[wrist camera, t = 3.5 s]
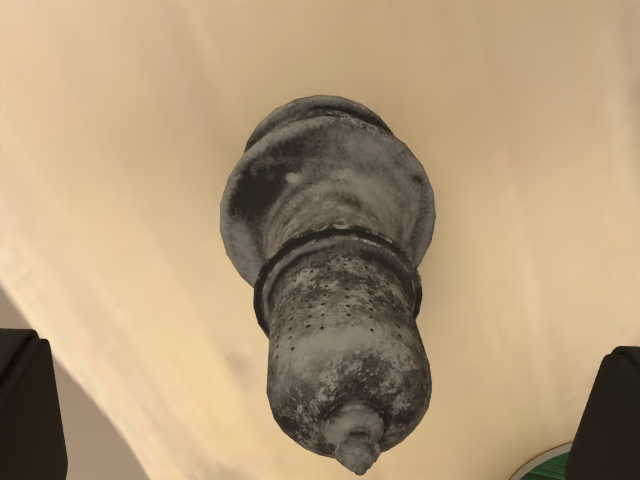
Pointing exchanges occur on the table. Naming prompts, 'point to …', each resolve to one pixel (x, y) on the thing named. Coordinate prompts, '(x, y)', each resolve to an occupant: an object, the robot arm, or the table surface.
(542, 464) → the canned tomato
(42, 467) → the robot arm
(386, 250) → the salt shaker
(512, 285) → the table surface
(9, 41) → the table surface
